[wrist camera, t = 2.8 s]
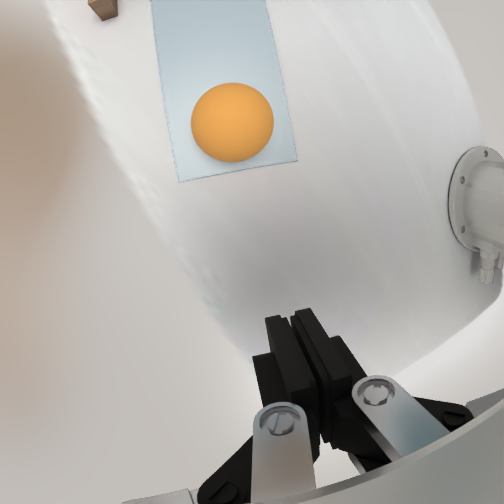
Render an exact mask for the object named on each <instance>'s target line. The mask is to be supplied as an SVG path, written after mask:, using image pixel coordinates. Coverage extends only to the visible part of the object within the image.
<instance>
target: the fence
mask: <svg viewBox="0 0 504 504" xmlns="http://www.w3.org/2000/svg"><path fill="white" fill-rule="evenodd" d="M88 5H89V6H90V7H91V8H92V9H93V10H94V12H95V13H96V14H97V15H98V16H99V17H100V19H101V20H102V21H104V20H107V19H110V18H113V17H116V16H118V12H117V0H88Z"/></svg>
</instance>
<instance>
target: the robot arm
mask: <svg viewBox="0 0 504 504" xmlns="http://www.w3.org/2000/svg"><path fill="white" fill-rule="evenodd" d="M449 214H450V220H451V225H452V228H453V231H454V234H455V235H456V237H457V239H458V241H459V242H460V243H461V244H462V245H463V246H464V247H466V248H468V249H470V250H472V251H475V252H480V256H481V257H482V265H481V270H480V278H479V280H480V282H482V283H485V284H490V283H492V282H493V277H494V269H495V268H497V269H502V268H503V265H504V160H503V158H502V156H500V154H499V153H498V152H496V151H495V150H493V149H492V148H488V147H476V148H472V149H471V150H469V151H468V152H467V153H466V154H465V155H464V156H463V157H462V158H461V160H460V161H459V163H458V164H457V167H456V169H455V171H454V174H453V178H452V181H451V186H450V193H449ZM494 267H495V268H494ZM290 320H291V326H290V324H289V322H288V320H287V318H286V317H285V318H281V316H280V315H276V316H271V317H267V318H265V323H266V328H267V334H268V340H269V345H270V351H271V352H270V353H266V354H261V355H257V356H252V358H253V363H254V367H255V372H256V377H257V381H258V386H259V390H260V395H261V399H262V404H263V409H261V410H260V411H259V412H258V413H257V415H256V416H255V419H254V422H253V435H252V436H251V437H250V438H249V439H248V440H247V441H246V442H245V444H244V445H243V446H242V447H241V448H240V449H239V450H238V451H237V452H236V453H235V454H234V455H233V456H232V457H231V458H230V459H228V460H227V461H226V462H225V463H224V464H223V465H222V466H221V467H220V468H219V469H218V470H217V471H216V472H215V473H214V474H213V475H212V476H210V477H209V478H208V479H207V480H206V481H205V482H204V483H203V484H202V485H201V487H200V488H199V489H195V490H192V491H189V490H188V489H183V490H179V491H175V492H171V493H166V494H161V495H157V496H152V497H146V498H140V499H134V500H129V501H126V502H123V503H122V504H504V389H501V390H499V391H496V392H494V393H491V394H488V395H486V396H483V397H480V398H478V399H475V400H472V401H469V402H467V404H466V406H463V405H459V404H455V403H448V402H442V401H435V400H429V399H424V398H418V397H413V396H411V395H410V394H409V393H408V392H407V391H406V390H404V389H403V388H402V387H401V386H400V385H399V384H398V383H397V382H396V381H394V380H393V379H392V378H390V377H387V376H382V375H373V376H367V375H366V373H365V372H364V370H363V369H362V367H361V366H360V364H359V363H358V362H357V360H356V359H355V357H354V356H353V354H352V353H351V351H350V350H349V348H348V347H347V346H346V344H345V343H344V341H343V340H342V338H341V337H340V336H334V337H331V338H329V337H328V335H327V333H326V332H325V330H324V329H323V327H322V326H321V324H320V322H319V321H318V319H317V318H316V316H315V315H314V313H313V311H312V310H311V309H310V308H306V309H302V310H298V311H295V315H293V316H290ZM320 434H321V437H322V439H323V441H324V443H328V442H330V444H331V447H332V449H337V448H339V449H340V450H342V451H346V452H348V456H349V458H350V460H351V461H352V463H353V464H354V466H355V467H356V468H357V470H358V471H359V473H360V474H361V475H359V476H356V477H353V478H350V479H347V480H344V481H341V482H338V483H335V484H331V485H328V486H325V487H321V488H318V489H316V484H315V475H314V467H313V464H314V462H315V461H316V460H317V458H318V457H319V455H320V452H319V445H320Z"/></svg>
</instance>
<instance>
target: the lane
mask: <svg viewBox="0 0 504 504" xmlns="http://www.w3.org/2000/svg"><path fill="white" fill-rule="evenodd" d="M151 6H152V16H153V25H154V33H155V41H156V49H157V57H158V64H159V71H160V78H161V85H162V91H163V98H164V104H165V110H166V116H167V122H168V128H169V134H170V139H171V145H172V150H173V155H174V161H175V166H176V171H177V176H178V181H179V182H182V181H187V180H192V179H196V178H201V177H206V176H211V175H216V174H221V173H226V172H232V171H237V170H243V169H248V168H254V167H260V166H266V165H272V164H279V163H285V162H292V161H297V157H296V151H295V144H294V138H293V133H292V127H291V121H290V115H289V110H288V105H287V99H286V94H285V89H284V84H283V79H282V74H281V69H280V64H279V59H278V54H277V50H276V45H275V41H274V36H273V32H272V28H271V23H270V19H269V15H268V11H267V7H266V3H265V0H151ZM224 83H242V84H245V85H248V86H251V87H253V88H255V89H256V90H258V91H259V92H260V93H261V94H262V95H263V96H264V97H265V98H266V99H267V101H268V102H269V104H270V106H271V109H272V112H273V117H274V127H273V132H272V135H271V138H270V140H269V141H268V143H267V145H266V146H265V147H264V148H263V149H262V150H261V151H260V152H259V153H258V154H256V155H255V156H253V157H251V158H249V159H246V160H243V161H239V162H225V161H220V160H217V159H215V158H212V157H211V156H209V155H207V154H206V153H205V152H204V151H203V150H202V149H201V148H200V147H199V146H198V144H197V143H196V141H195V139H194V137H193V134H192V130H191V116H192V112H193V109H194V107H195V104H196V103H197V101H198V100H199V99H200V97H201V96H202V95H203V94H204V93H205V92H207V91H208V90H210V89H211V88H213V87H215V86H217V85H220V84H224Z"/></svg>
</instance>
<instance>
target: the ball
mask: <svg viewBox="0 0 504 504" xmlns="http://www.w3.org/2000/svg"><path fill="white" fill-rule="evenodd" d="M273 127H274V117H273V112H272V109H271V106H270V104H269V102H268V101H267V99H266V98H265V97H264V96H263V95H262V94H261V93H260V92H259V91H258V90H256V89H255V88H253V87H251V86H248V85H245V84H242V83H224V84H220V85H217V86H215V87H213V88H211V89H210V90H208V91H207V92H205V93H204V94H203V95H202V96H201V97H200V99H199V100H198V101H197V103H196V104H195V107H194V109H193V112H192V116H191V130H192V134H193V137H194V139H195V141H196V143H197V144H198V146H199V147H200V148H201V149H202V150H203V151H204V152H205V153H206V154H207V155H209V156H211V157H212V158H215V159H217V160H220V161H225V162H239V161H243V160H246V159H249V158H251V157H253V156H255V155H256V154H258V153H259V152H260V151H261V150H262V149H263V148H264V147H265V146H266V145H267V143H268V141H269V140H270V138H271V135H272V132H273Z"/></svg>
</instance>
